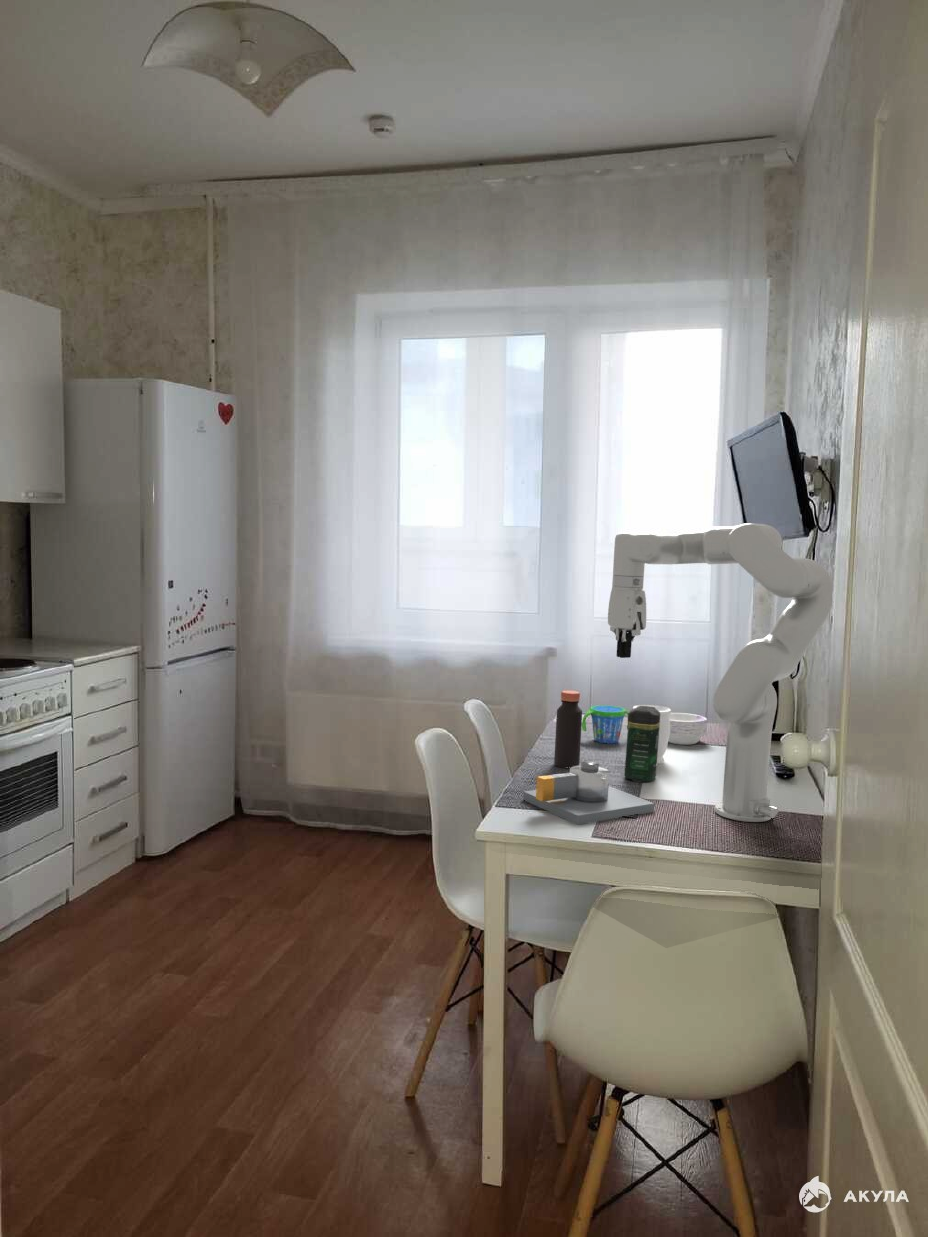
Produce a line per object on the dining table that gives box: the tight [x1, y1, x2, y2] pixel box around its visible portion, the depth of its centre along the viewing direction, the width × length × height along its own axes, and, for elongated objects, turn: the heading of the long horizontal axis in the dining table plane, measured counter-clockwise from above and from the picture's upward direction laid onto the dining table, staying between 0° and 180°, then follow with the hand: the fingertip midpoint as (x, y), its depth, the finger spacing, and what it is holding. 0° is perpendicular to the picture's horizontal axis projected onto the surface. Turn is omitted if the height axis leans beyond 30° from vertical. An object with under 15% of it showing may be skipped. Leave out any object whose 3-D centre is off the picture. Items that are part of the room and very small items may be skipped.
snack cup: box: [581, 704, 630, 745], centre depth 283 cm, size 16×10×10 cm
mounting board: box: [522, 785, 655, 826], centre depth 214 cm, size 20×22×2 cm
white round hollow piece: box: [668, 712, 708, 746], centre depth 287 cm, size 15×15×8 cm
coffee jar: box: [624, 706, 660, 783], centre depth 241 cm, size 10×8×19 cm
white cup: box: [632, 704, 672, 765], centre depth 260 cm, size 11×10×15 cm
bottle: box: [553, 690, 583, 769], centre depth 250 cm, size 7×7×20 cm
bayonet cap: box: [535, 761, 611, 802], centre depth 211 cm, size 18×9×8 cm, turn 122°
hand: (623, 657), depth 231 cm, fingers closed
